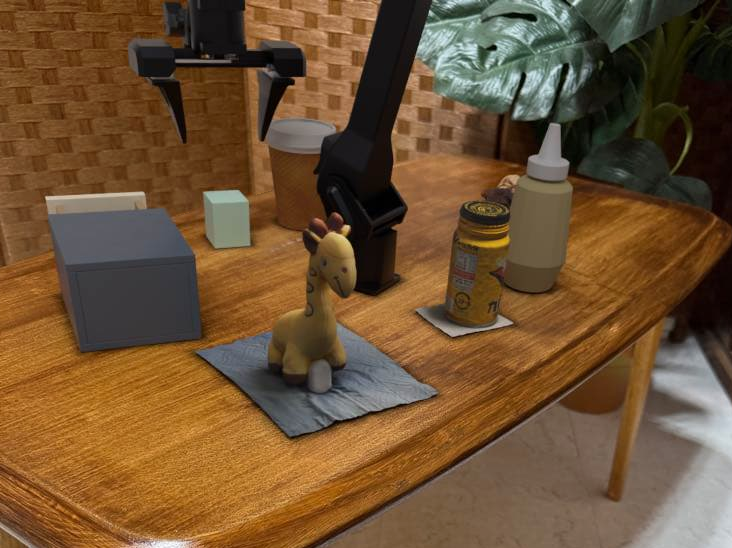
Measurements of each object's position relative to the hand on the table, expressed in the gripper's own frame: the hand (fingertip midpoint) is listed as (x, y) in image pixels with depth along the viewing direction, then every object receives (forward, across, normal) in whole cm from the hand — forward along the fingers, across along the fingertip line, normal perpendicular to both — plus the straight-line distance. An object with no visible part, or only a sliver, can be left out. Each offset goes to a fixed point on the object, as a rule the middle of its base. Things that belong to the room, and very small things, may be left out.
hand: (223, 141), depth 99 cm
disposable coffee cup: (+12, -11, -5) cm, 17 cm away
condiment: (+12, -19, +28) cm, 36 cm away
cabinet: (+12, +16, +19) cm, 27 cm away
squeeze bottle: (+12, -31, +22) cm, 40 cm away
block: (+12, 0, 0) cm, 12 cm away
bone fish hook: (+12, -44, -3) cm, 46 cm away
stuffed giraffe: (+12, +1, +36) cm, 38 cm away
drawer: (+11, +16, +8) cm, 20 cm away
